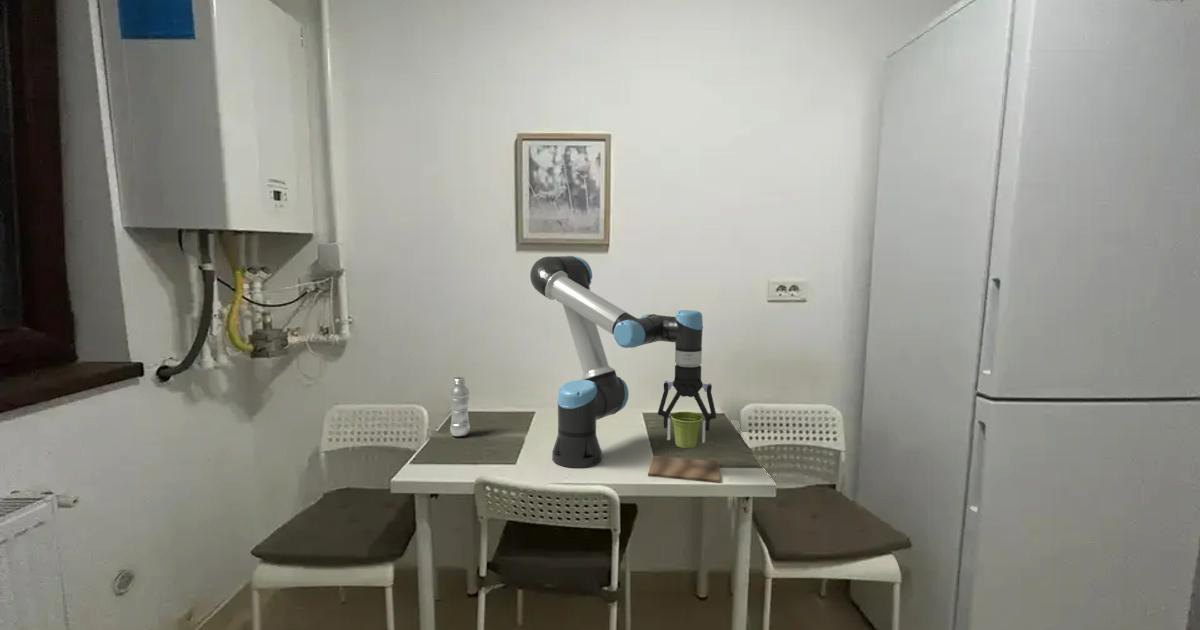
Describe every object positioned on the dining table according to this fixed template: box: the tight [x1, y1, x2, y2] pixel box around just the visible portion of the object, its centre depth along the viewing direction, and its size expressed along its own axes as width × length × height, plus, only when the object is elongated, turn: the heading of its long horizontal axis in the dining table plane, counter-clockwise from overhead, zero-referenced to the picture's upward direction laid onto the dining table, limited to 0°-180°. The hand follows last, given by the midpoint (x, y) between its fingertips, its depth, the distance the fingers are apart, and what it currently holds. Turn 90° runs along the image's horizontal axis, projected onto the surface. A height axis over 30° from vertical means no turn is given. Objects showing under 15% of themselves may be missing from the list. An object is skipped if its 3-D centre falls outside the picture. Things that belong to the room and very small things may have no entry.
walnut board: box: [647, 455, 721, 484], centre depth 167 cm, size 20×14×1 cm
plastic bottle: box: [449, 376, 471, 437], centre depth 194 cm, size 6×7×20 cm
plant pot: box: [670, 411, 704, 449], centre depth 166 cm, size 9×9×9 cm
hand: (686, 439), depth 166 cm, fingers closed on plant pot, 9 cm apart
